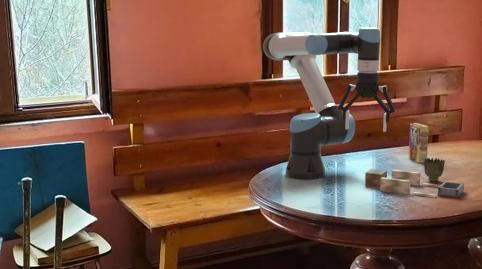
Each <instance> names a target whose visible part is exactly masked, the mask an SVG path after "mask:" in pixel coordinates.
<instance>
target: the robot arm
mask: <svg viewBox="0 0 482 269" xmlns="http://www.w3.org/2000/svg"><path fill="white" fill-rule="evenodd" d="M262 48H263V52H264V54H265V56H266V57H267V58H269V59H271V60H273V61H288V62H289V65H290V67H291V68H292V69H295V70H296V73H297V74H298V76H299V78H300V81H301V83H302V85H303V87H304V89H305V92H306V94H307V96H308V98H309V100H310V103H311V105H312V107H313V111H314V112H309V113H307V112H305V113H300V114H297V115H294V116H293V117H292V118H291V119H290V125H289V134H290V135H289V137H290V138H289V139H290V142H289V143H290V144H289V146H290V149H289V150H290V151H289V152H290V154H289V158H288V162H287V164H286V166H285V175H286V176H287V177H288V178H292V179H299V180H300V179H301V180H310V179H311V180H315V179H319V178H320V179H321V178H323V177H325V175H326V168H325V165H324V160H323V158H322V152H321V151H322V150H321V147H325V146H334V145H342V144H346V143H349V142H350V141H351V140H352V139H353V138H354V135H355V132H356V122H355V119H354V117H353V115H352V114H351V113H350V110H349V109H350V107H351V106H352V105H353V104H354V103H356V101H357V100H358V99H359V98H363V99H364V98H365V99H366V98H368V99H372V98H373V99H374V100H375V101H376V102H377V104H378V105H379V106H380V107H381V109H382V110H383V111H384V112H385V113H384V114H383V126H382V127H383V128H382V132H383V133H386V132H387V123H390V121H391V119H390V118H391V117H390V116H391V113H395V111H396V107H395V105H394V103H393V101H392V98H391V96H390V94H389V92H388V86H387V85H386V84H385V85H383V86H381V85H379V77H380V76H379V72H378V71H379V69H380V68H379V67H380V50H381V49H380V48H381V29H380V28H378V27H360V28H359V29H358V32H352V31H342V32H331V33H330V32H329V33H328V32H327V33H324V32H323V33H318V32H316V33H311V32H308V31H296V32H295V31H291V32H290V31H289V32H288V31H287V32H284V31H283V32H275V33H271V34H269V35H268V36H267V37H266V38H265V39H264V41H263V45H262ZM337 54H339V55H340V54H357V65H356V66H357V69H356V70H357V71H358V72H357V73H356V85H355V84H352V83H350V84H348V85H347V88H346V90H347V91H346V92H345V94H344V96H343V98H342V99H341V100H340V101H341V102H339V104H336V103H335V100H334V98H333V96H332V93H331V92H330V90H329V87H328V85H327V83H326V81H325V79H324V77H323V74H322V72H321V70H320V68H319V66H318V64H317V62H316V59H317V56H321V55H322V56H323V55H337ZM354 90H356V92H357V93H356V94H355V96H354V97H353V98H352V99H351V100H350V101H348V103H347V104H346V102H347V100H348V98H349V96H350V94H351V93H352V92H353V91H354ZM379 91H380V92H381V93H382V94H383V96H384V99H385V101H386V103H387V104H386V103H385V101H383V99H382V98H381V97H380V95H379V94H378V92H379ZM345 104H346V105H345Z"/></svg>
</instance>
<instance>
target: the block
mask: <svg viewBox="0 0 482 269" xmlns="http://www.w3.org/2000/svg"><path fill="white" fill-rule="evenodd" d="M364 174H365V176H364V179H365V180H364V186H366V187H373V188H378V189H379V188H380V185H381V178H382V177H384V178H388V171H387V170H383V169H374V168H371V169H369V170H367V171H365V173H364Z"/></svg>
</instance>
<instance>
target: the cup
mask: <svg viewBox="0 0 482 269" xmlns="http://www.w3.org/2000/svg"><path fill="white" fill-rule="evenodd" d="M445 162H446V159H443V158H441V159H440V158H437V157H435V158H433V157H432V158H429V157H427V159H426V158H425V161H424V163H423V168H424V174H425V176H427V177H428V178H427V179H428V181H429V182H432V183H438V182H439V180H440V177H441V176H442V175H443V173H444V169H445Z"/></svg>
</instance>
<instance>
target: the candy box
mask: <svg viewBox="0 0 482 269" xmlns="http://www.w3.org/2000/svg"><path fill="white" fill-rule="evenodd" d="M429 134H430V132H429V126H428V125H425V124H422V123H416V122H413V123H410V124H409V139H408V140H409V141H408V142H409V143H408V159H409V160H411V161H413V162H416V163H418V164H424V161H425V158H426V159H427V158H428V149H429V148H428V147H429V145H428V144H429Z"/></svg>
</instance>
